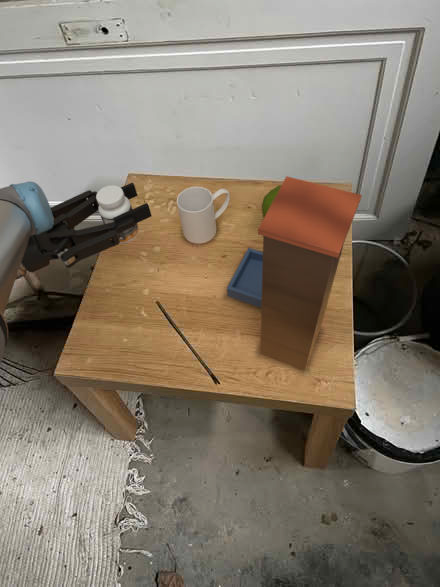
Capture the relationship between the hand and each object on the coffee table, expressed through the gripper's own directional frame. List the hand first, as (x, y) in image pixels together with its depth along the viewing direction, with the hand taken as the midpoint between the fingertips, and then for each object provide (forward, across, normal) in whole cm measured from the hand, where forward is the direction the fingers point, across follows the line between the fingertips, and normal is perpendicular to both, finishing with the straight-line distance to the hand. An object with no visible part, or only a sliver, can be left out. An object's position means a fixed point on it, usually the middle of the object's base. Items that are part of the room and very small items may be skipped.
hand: (141, 199), depth 76 cm
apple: (+30, +6, -22) cm, 37 cm away
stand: (+13, +30, -22) cm, 39 cm away
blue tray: (+17, +15, -22) cm, 31 cm away
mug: (+14, -5, -22) cm, 27 cm away
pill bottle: (-5, 0, -6) cm, 8 cm away
